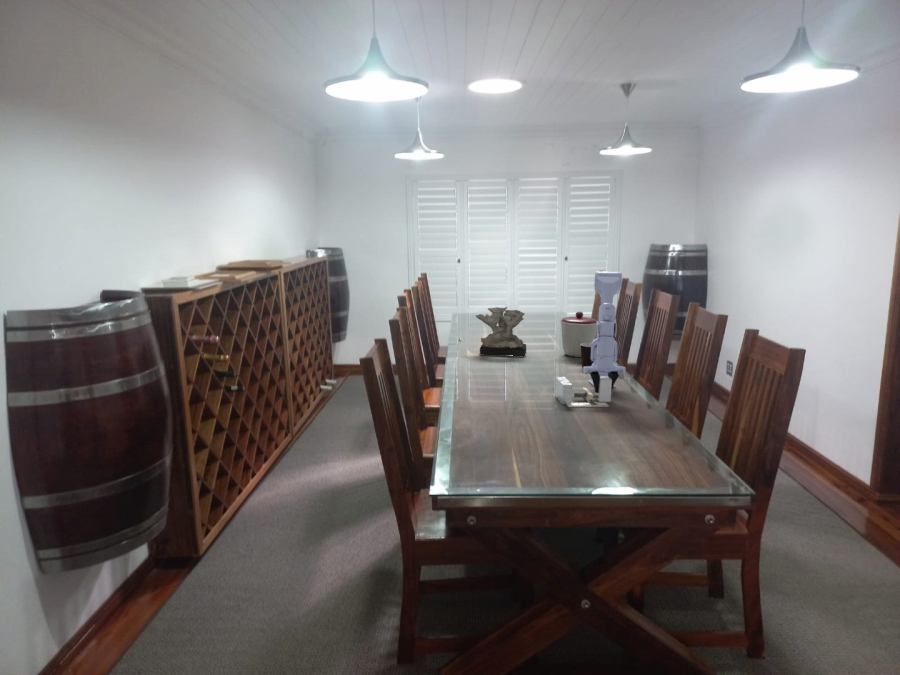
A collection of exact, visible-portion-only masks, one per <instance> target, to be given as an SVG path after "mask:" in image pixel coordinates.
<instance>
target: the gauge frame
mask: <svg viewBox="0 0 900 675" xmlns="http://www.w3.org/2000/svg"><path fill="white" fill-rule="evenodd" d="M554 387H555V388H554V390H555V392H554V396H555V398H556V399H557V398H558V399H557V400H558V401H559V402H560V403H562V404H565V405H566V407H568V408H609V407H610V404H609V403H608V402H595V403H596V405H594V404H593V403H592V402H573V384H572V383H571V382H570V381H569V379H567V377H565V376H556V377H555V386H554ZM562 404H561V405H562Z"/></svg>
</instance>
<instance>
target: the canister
mask: <svg viewBox="0 0 900 675" xmlns="http://www.w3.org/2000/svg"><path fill="white" fill-rule="evenodd" d="M559 322H560V329H561V330H560V331H561V339H562V340H561V341H562V342H561V343H562V350H563V353H564V354H565V355H566V356H568V357H573V356H574V357H576V358H581V346H580V344H582V343H592V342H593V340H595V339H596V335H597V323H598V322H599V320H597V319H595V318H593V317H587V316H584V312H582V311H576V312H575V316H566V317H563V318H561V319H560V320H559Z"/></svg>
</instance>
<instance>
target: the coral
mask: <svg viewBox="0 0 900 675" xmlns="http://www.w3.org/2000/svg"><path fill="white" fill-rule="evenodd" d="M487 310H488V311H489V312H491V315H489V314H488V313H486V315H484V314H482V313H481V314H480V313H479V314H476V315H475V317H476V318H477V319H478V320H479V321H481V322H482V323H484V324H485V325H487V326H488V327H490V328H491V331H492V333H489V334H488V335H486V337H481V338H480V342H481V343H482V344H481V346H480V347H479V355H480V354H484V355H483V356H489V355H513V356H525V357H526V354H527V344H526V343H524V340H522V339H520V338H519V337H518V336H517V335H516V334H514V331H513V329H515V327H517V326H518V325H519V324H521V322H523V320H525V319H524V315H526V314H525V312H523V311H520V310H519V309H514V310H513V309H512V310H511V309H508V306H505V307H490V308H487ZM497 325H498V326H497ZM525 353H526V354H525Z"/></svg>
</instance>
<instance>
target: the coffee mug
mask: <svg viewBox="0 0 900 675" xmlns="http://www.w3.org/2000/svg"><path fill="white" fill-rule="evenodd" d="M580 346H581V357H580V360H581V368H583V367H586V366H592V364H593V362H594V358H593V361H592V360H591V346H592V343H582V344H580Z"/></svg>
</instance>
